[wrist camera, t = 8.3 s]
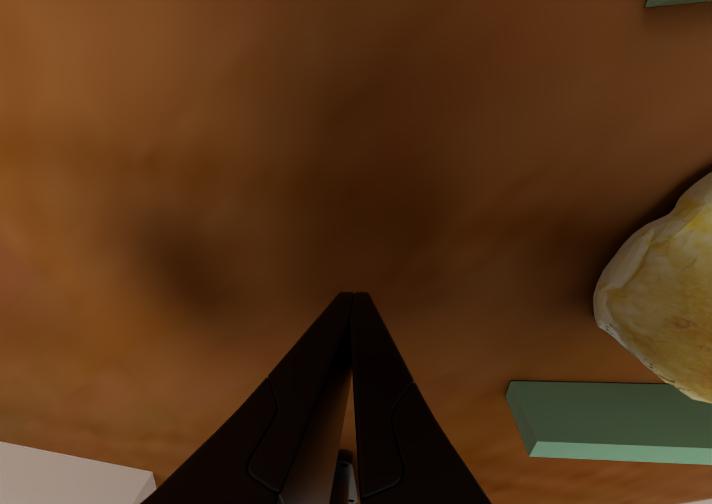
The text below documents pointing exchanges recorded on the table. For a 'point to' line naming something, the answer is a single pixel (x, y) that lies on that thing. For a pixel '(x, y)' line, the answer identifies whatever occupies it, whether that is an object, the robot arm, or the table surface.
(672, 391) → the mini golf green
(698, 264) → the bread roll
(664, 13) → the table surface
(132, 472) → the milk
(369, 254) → the table surface
